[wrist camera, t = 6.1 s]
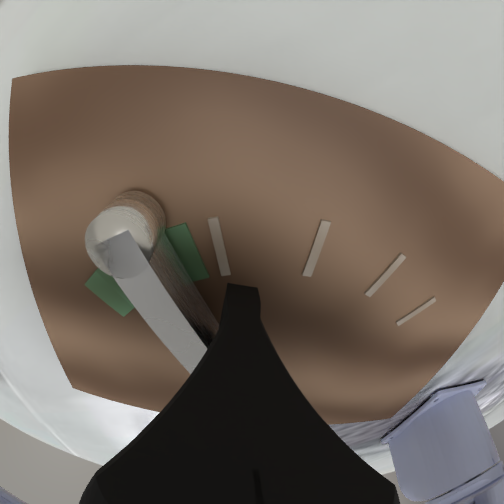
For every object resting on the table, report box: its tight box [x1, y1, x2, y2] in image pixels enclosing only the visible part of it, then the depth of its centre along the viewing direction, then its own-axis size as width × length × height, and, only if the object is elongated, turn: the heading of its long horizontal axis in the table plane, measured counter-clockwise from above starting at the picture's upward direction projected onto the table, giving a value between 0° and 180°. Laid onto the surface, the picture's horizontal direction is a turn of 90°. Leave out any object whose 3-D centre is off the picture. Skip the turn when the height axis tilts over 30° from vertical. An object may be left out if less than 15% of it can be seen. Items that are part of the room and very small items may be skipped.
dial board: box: [9, 65, 504, 424], centre depth 11 cm, size 17×22×1 cm
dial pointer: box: [85, 191, 219, 374], centre depth 10 cm, size 12×3×2 cm, turn 20°
